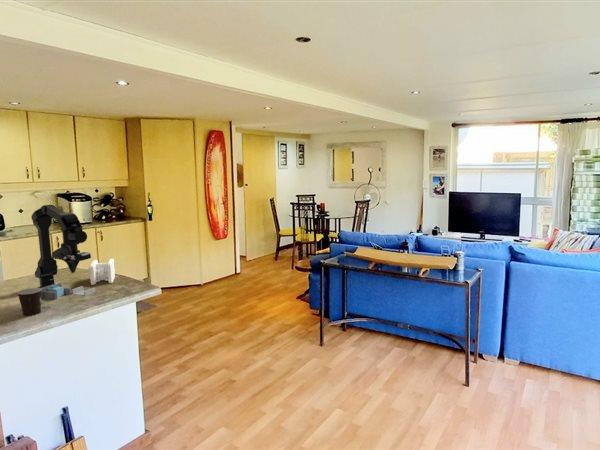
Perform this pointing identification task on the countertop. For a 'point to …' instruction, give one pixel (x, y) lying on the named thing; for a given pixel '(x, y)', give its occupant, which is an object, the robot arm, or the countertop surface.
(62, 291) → the light blue block
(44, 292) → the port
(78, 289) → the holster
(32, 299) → the coffee mug
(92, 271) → the cable organizer
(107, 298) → the countertop surface
